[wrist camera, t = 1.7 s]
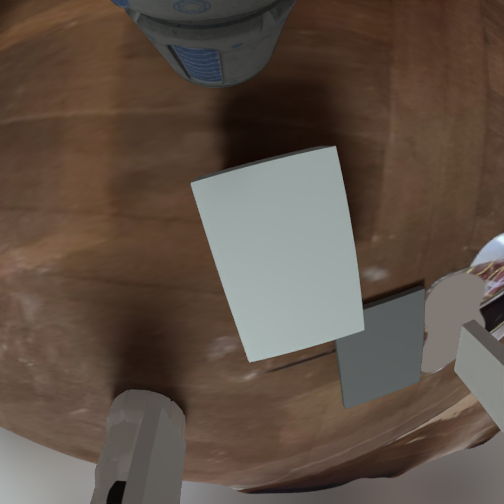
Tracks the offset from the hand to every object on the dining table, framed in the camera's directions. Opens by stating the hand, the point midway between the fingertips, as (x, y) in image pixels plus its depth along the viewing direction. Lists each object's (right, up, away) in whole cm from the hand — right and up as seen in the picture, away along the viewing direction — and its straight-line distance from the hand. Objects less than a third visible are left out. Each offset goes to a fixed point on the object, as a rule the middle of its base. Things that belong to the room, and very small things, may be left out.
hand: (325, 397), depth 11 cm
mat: (+14, -7, +25) cm, 30 cm away
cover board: (0, +6, +15) cm, 16 cm away
